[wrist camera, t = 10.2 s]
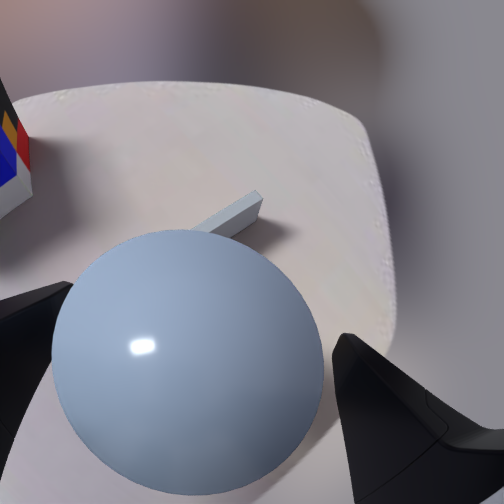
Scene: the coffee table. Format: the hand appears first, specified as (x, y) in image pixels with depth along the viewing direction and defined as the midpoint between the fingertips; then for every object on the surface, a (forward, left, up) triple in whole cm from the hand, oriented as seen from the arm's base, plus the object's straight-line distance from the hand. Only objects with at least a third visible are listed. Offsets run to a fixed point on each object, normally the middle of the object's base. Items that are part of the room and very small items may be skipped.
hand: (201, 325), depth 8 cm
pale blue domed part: (-1, -1, -9) cm, 9 cm away
